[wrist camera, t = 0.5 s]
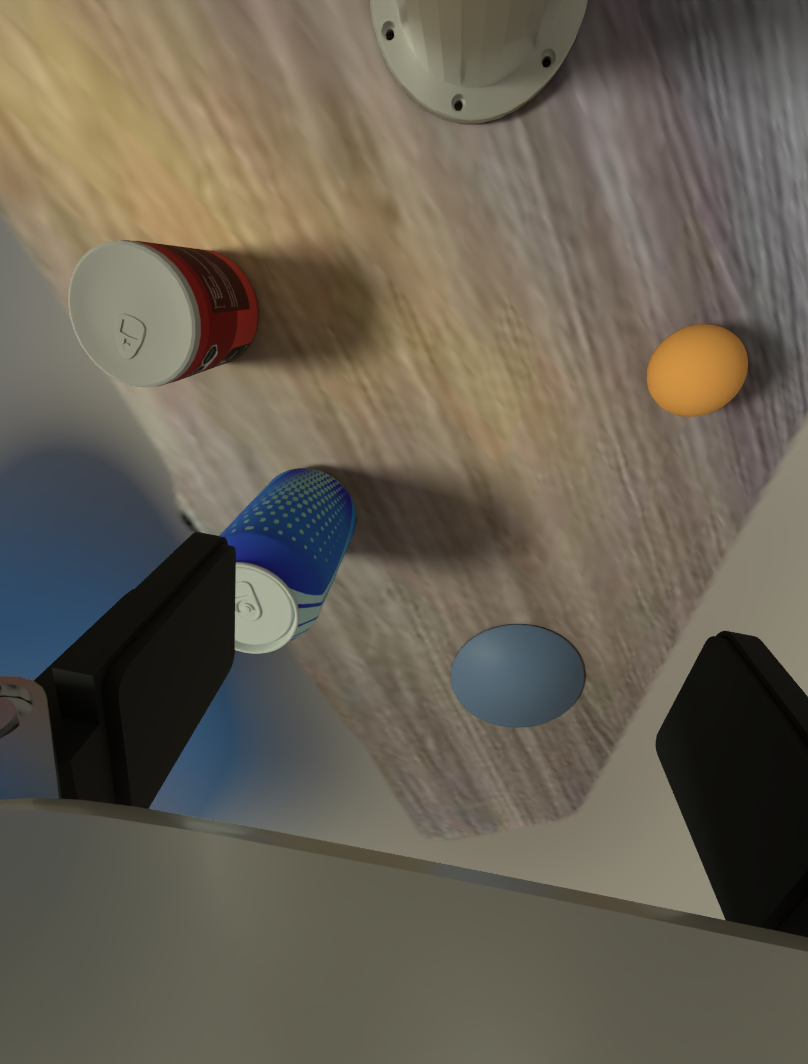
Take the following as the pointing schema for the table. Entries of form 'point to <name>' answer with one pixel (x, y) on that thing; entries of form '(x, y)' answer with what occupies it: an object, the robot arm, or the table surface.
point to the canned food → (160, 310)
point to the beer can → (287, 556)
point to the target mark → (517, 675)
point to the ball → (697, 370)
